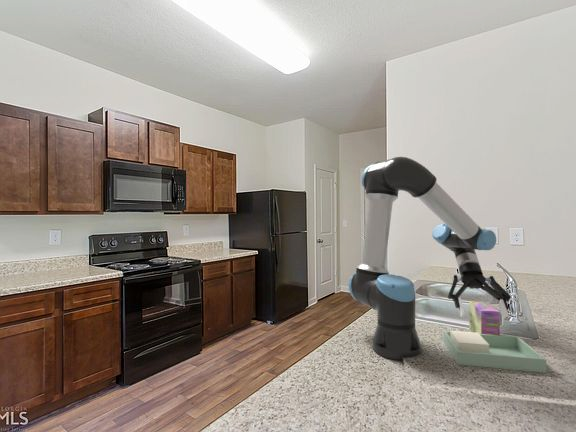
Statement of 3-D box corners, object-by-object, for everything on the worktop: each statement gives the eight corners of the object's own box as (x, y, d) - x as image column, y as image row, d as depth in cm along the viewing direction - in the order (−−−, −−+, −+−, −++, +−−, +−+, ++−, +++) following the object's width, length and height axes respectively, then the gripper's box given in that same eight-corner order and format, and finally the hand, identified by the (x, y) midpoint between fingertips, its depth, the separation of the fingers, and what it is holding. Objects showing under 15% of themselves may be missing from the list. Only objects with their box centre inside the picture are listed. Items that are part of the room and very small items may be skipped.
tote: (457, 367, 86) (457, 351, 86) (443, 344, 101) (443, 331, 101) (546, 376, 81) (546, 359, 81) (517, 350, 96) (517, 336, 96)
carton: (458, 359, 89) (458, 342, 89) (450, 346, 98) (450, 330, 98) (489, 361, 87) (489, 344, 87) (478, 348, 96) (477, 332, 96)
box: (500, 347, 98) (500, 311, 98) (481, 346, 99) (480, 310, 99) (486, 334, 108) (485, 302, 108) (469, 333, 110) (468, 301, 110)
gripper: (501, 272, 119) (521, 324, 105) (433, 271, 125) (443, 319, 111) (507, 261, 114) (529, 314, 100) (436, 260, 120) (447, 310, 106)
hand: (484, 317), depth 105 cm, fingers open, 13 cm apart
